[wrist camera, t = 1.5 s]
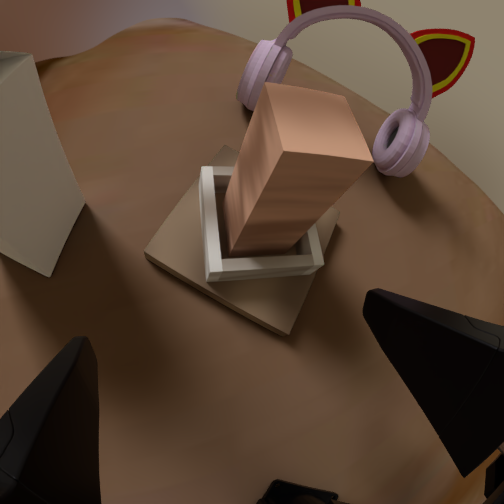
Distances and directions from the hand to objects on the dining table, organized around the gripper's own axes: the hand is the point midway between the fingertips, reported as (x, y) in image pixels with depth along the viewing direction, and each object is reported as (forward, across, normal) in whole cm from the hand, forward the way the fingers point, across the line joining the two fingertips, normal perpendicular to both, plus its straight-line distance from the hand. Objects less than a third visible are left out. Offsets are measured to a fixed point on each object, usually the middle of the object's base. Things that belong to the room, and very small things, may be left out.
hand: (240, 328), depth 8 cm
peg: (+14, -5, +2) cm, 15 cm away
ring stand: (+15, -5, +3) cm, 16 cm away
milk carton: (+17, +13, +1) cm, 22 cm away
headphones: (+24, -16, -6) cm, 30 cm away
